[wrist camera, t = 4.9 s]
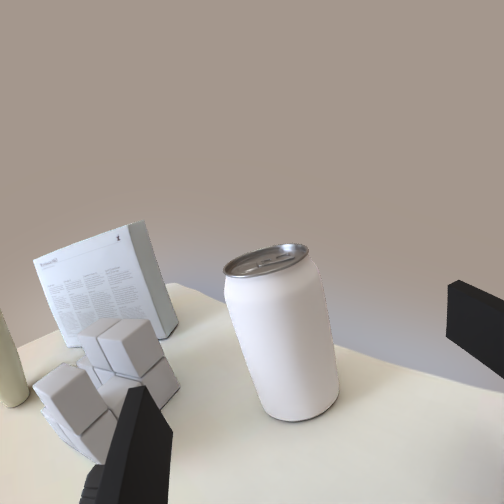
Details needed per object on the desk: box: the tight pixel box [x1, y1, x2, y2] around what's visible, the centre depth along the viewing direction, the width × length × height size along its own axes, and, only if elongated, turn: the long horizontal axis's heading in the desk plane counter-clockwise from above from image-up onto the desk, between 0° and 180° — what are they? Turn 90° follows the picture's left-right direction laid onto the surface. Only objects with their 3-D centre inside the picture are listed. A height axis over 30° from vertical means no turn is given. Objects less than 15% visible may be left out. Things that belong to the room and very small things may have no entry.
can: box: [223, 244, 339, 421], centre depth 21 cm, size 6×6×12 cm
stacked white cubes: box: [33, 318, 180, 464], centre depth 24 cm, size 12×12×8 cm
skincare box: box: [33, 220, 178, 347], centre depth 41 cm, size 21×5×16 cm, turn 83°
